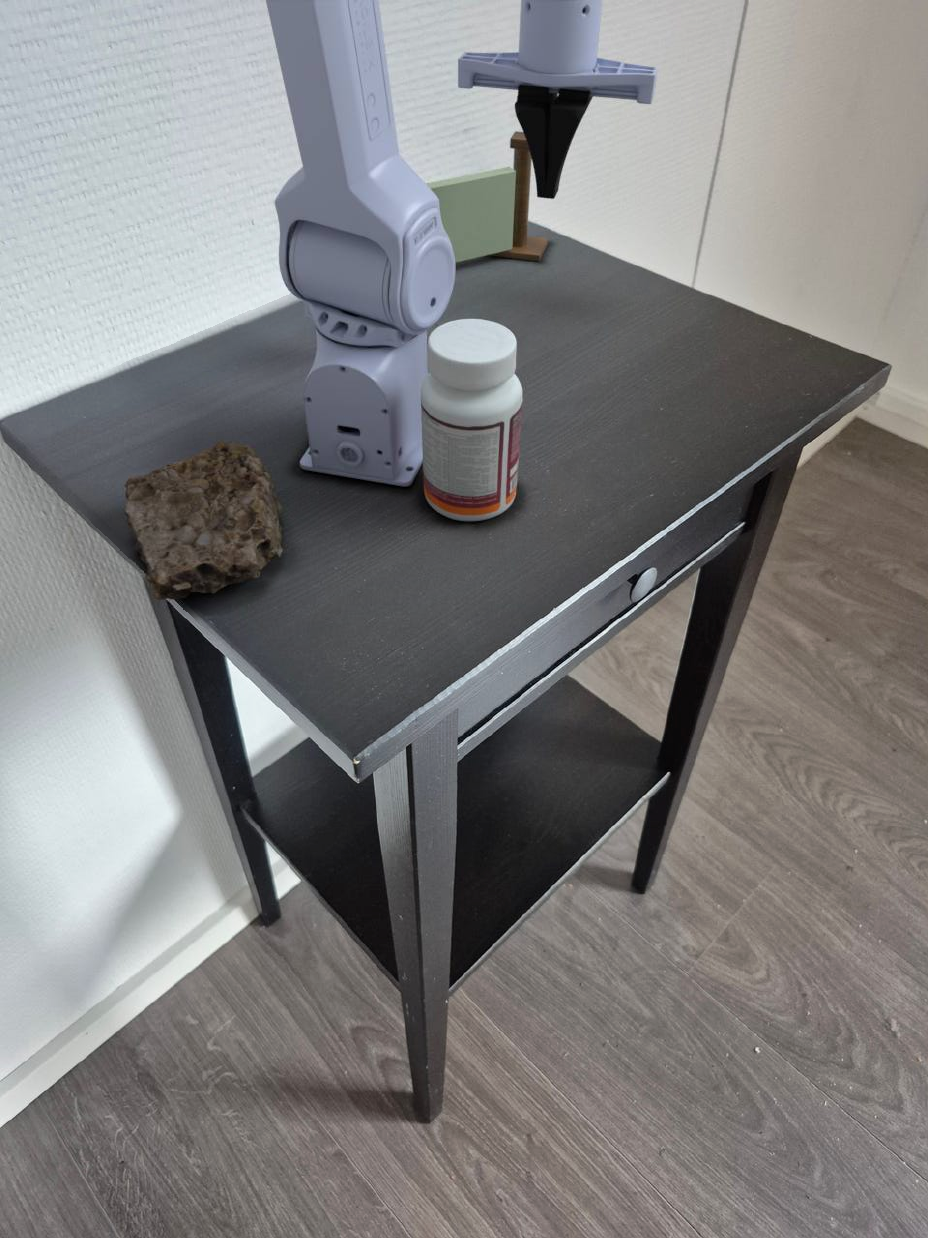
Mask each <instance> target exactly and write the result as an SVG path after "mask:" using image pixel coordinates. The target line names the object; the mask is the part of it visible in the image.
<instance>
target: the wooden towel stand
mask: <svg viewBox="0 0 928 1238" xmlns="http://www.w3.org/2000/svg"><path fill="white" fill-rule="evenodd" d="M509 149H513V166H512V167H513V168H512V169H513V170H515V171H516V179H515V200H514V222H513V243H512V249H511V250H507V251H503V252H498V253H494V254H490V255H489V257H498V258H508V259H514V260H515V259H516V260H523V261H531V262H532V261H534V262H540V261H541V260H542V257H543V254H544V253H545V251H546V248H547V247H548V244H549V243H548V242H549V239H548V237H541V236H532V235H528V230H529V229H528V226H529V212H530V210H529V209H530V193H531V178H532V177H531V176H532V175H531V174H532V158H531V154H530V150H529V147H528V144H527V141H526V138H525V135H524V133H523V131H518V130H517V131H514V132H513V134H512V135H511V137H510V139H509Z"/></svg>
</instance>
